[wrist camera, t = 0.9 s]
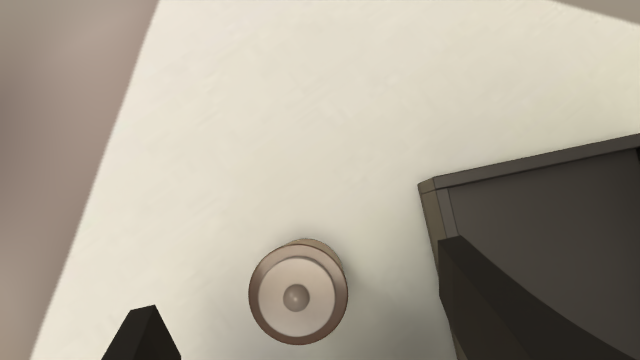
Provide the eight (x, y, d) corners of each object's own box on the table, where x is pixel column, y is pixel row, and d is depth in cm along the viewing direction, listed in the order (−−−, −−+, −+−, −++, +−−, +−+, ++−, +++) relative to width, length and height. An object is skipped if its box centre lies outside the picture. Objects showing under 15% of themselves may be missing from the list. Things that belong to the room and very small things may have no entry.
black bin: (710, 403, 26) (780, 436, 22) (478, 452, 26) (506, 494, 22) (637, 137, 27) (690, 122, 23) (417, 184, 27) (432, 177, 23)
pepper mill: (350, 306, 27) (360, 343, 18) (276, 321, 27) (252, 366, 18) (334, 232, 27) (337, 235, 19) (261, 247, 27) (231, 257, 19)
